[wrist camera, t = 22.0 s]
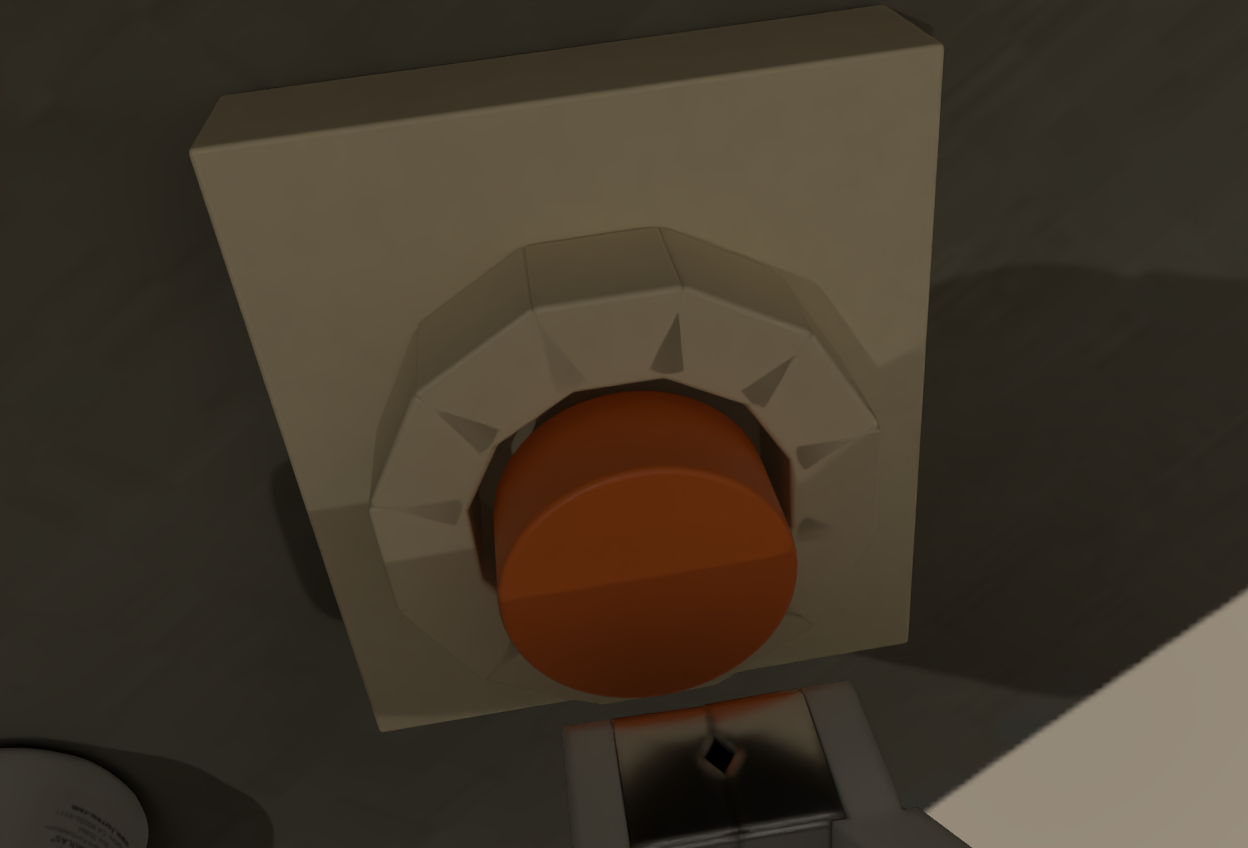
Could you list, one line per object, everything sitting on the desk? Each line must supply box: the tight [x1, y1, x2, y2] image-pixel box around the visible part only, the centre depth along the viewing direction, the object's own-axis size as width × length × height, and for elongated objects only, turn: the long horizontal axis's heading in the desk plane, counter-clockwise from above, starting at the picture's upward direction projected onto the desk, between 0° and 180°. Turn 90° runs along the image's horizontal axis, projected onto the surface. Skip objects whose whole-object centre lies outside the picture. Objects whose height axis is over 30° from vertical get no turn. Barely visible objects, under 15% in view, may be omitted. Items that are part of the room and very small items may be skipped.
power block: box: [189, 5, 944, 732], centre depth 16 cm, size 10×9×4 cm
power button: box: [493, 390, 798, 698], centre depth 14 cm, size 4×4×2 cm
